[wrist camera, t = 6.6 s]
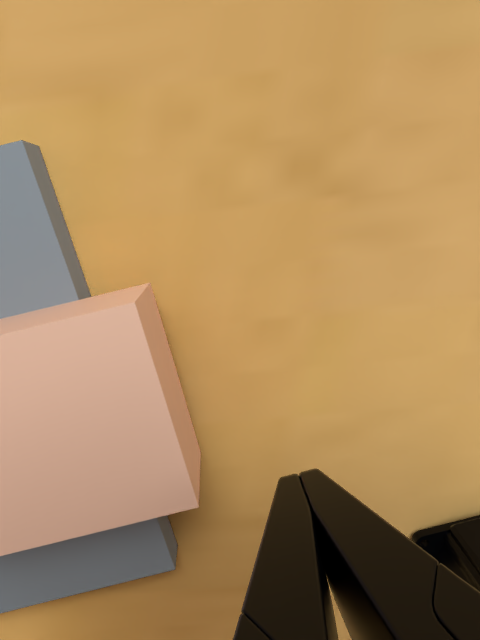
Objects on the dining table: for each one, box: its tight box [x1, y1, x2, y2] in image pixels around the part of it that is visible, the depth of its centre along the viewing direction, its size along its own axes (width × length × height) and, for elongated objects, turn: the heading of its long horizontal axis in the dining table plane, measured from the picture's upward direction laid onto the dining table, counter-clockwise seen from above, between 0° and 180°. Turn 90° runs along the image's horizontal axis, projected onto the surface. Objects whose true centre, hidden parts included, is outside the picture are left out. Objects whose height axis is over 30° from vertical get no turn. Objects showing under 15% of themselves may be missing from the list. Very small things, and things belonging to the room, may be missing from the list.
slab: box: [0, 283, 201, 556], centre depth 16 cm, size 8×4×10 cm
